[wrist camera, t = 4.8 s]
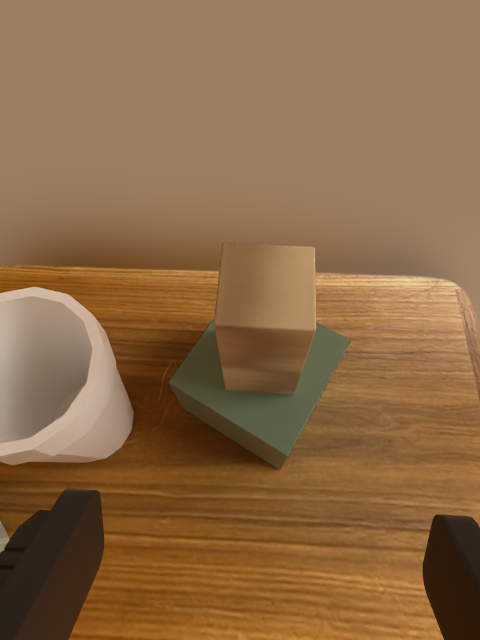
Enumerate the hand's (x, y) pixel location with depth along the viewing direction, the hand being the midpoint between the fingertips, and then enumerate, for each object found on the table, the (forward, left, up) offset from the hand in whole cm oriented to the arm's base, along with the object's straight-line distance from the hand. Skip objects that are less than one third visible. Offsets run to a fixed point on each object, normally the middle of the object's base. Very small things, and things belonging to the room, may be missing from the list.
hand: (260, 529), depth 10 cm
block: (+5, -9, -15) cm, 18 cm away
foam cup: (+15, 0, -23) cm, 27 cm away
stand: (+5, -9, -22) cm, 25 cm away
